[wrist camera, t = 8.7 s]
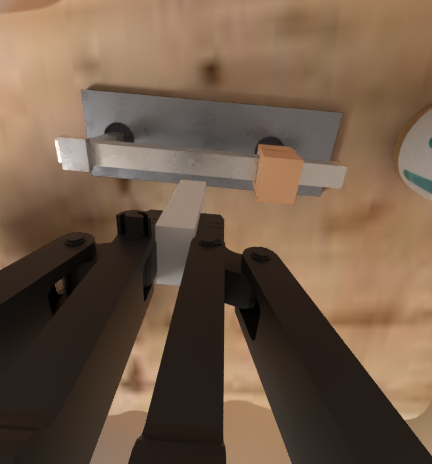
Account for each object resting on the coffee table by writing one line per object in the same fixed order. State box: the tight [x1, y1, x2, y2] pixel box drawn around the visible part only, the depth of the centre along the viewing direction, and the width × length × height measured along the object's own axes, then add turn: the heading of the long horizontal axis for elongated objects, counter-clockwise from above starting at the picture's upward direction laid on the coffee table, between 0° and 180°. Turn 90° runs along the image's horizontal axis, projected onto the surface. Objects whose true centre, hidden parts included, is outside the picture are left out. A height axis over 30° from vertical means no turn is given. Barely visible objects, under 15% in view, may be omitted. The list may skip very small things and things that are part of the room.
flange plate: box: [81, 89, 343, 197], centre depth 33 cm, size 30×10×1 cm, turn 86°
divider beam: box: [55, 132, 348, 189], centre depth 28 cm, size 26×3×11 cm, turn 86°
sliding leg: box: [253, 144, 304, 205], centre depth 27 cm, size 3×4×12 cm
